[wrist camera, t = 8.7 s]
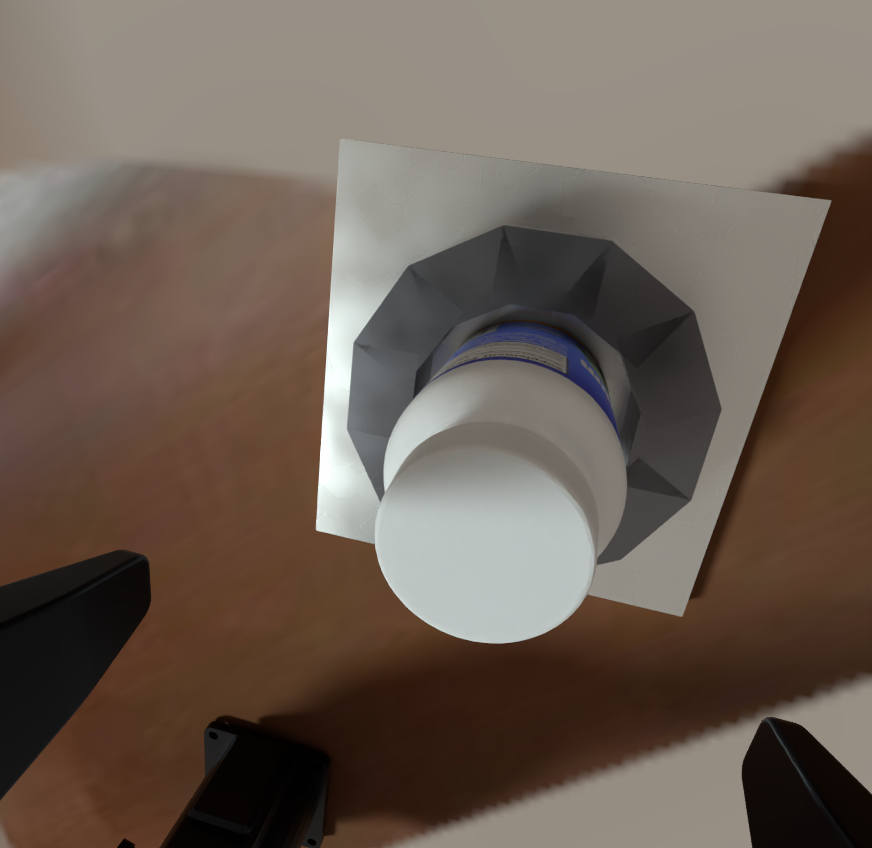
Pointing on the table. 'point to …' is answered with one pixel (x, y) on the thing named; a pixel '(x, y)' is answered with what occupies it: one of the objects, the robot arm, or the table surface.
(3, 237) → the table surface
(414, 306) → the collar
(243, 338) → the table surface
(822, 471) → the table surface
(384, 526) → the pill bottle
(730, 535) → the table surface
